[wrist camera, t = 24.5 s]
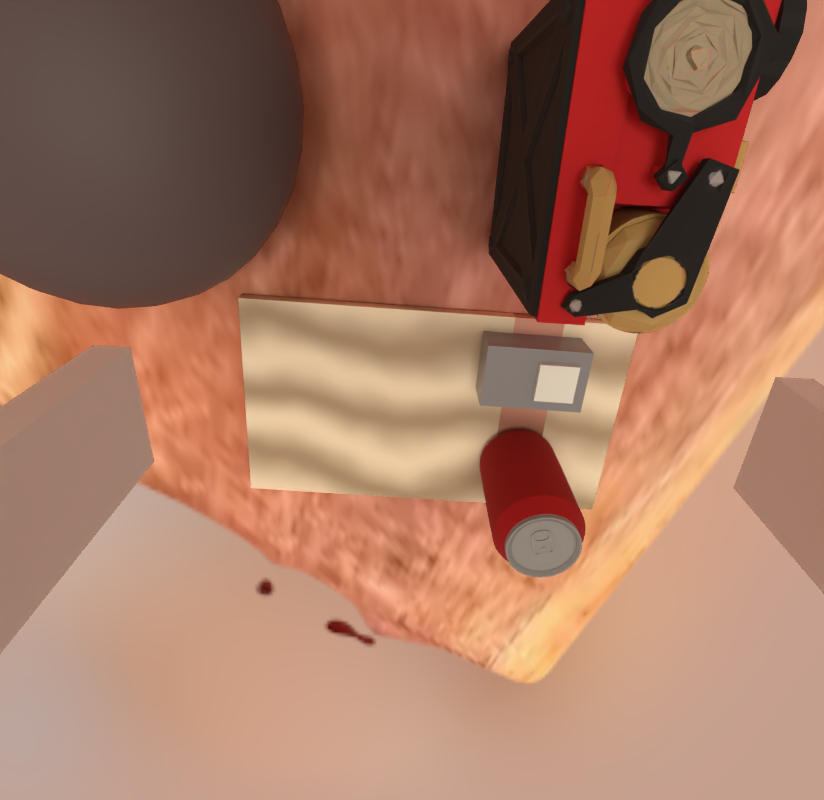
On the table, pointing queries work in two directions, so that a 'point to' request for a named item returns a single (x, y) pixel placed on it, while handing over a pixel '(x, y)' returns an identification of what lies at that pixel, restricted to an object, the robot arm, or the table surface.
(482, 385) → the block
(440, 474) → the subfloor panel
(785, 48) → the red mechanical device
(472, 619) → the table surface
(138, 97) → the flattened ellipsoid
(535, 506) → the beverage can
